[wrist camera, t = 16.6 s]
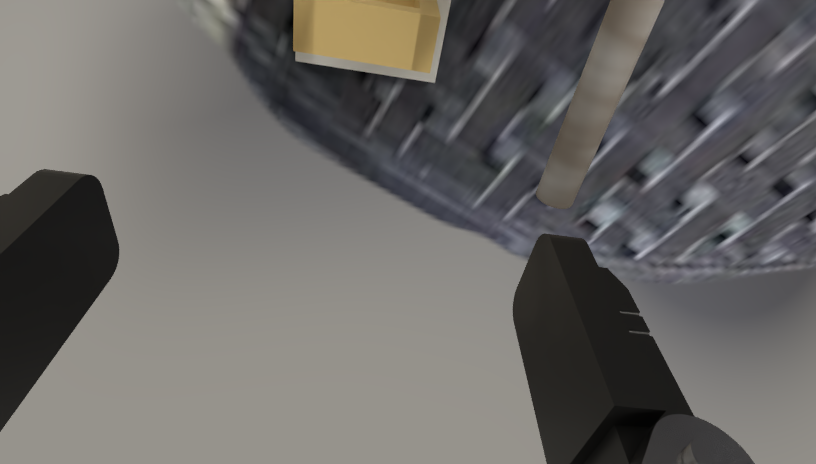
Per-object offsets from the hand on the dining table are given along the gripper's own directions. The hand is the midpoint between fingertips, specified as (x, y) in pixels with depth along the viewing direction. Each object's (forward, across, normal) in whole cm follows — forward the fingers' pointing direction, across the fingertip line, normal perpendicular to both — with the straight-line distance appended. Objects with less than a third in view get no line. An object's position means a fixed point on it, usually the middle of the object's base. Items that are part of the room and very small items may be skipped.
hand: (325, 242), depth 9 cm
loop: (+23, 0, 0) cm, 23 cm away
